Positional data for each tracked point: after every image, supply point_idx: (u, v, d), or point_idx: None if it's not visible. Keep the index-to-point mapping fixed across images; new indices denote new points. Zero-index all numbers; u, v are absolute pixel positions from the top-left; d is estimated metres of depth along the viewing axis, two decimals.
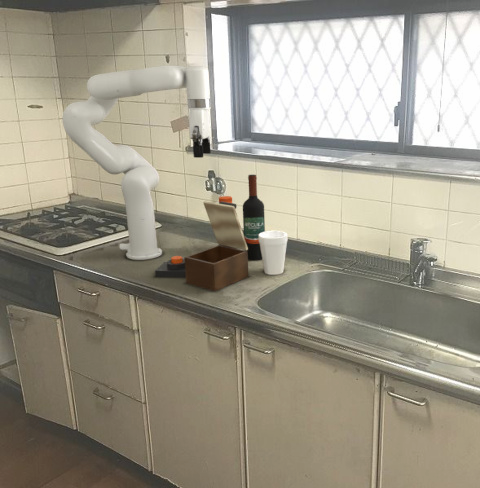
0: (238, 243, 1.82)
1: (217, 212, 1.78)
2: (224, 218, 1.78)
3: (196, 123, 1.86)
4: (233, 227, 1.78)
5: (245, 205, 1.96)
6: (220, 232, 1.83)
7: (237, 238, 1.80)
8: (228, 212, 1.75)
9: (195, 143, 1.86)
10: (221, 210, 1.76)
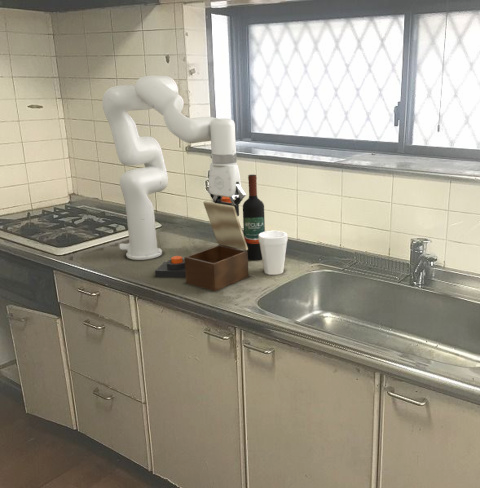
0: (238, 243, 1.82)
1: (217, 212, 1.78)
2: (224, 218, 1.78)
3: (237, 179, 1.74)
4: (233, 227, 1.78)
5: (245, 205, 1.96)
6: (220, 232, 1.83)
7: (237, 238, 1.80)
8: (228, 212, 1.75)
9: (238, 202, 1.76)
10: (221, 210, 1.76)
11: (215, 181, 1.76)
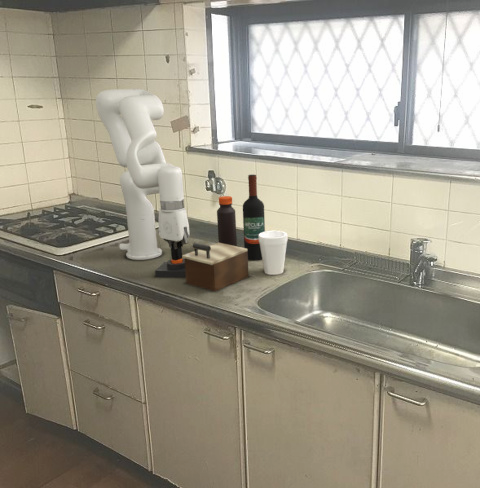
0: None
1: None
2: None
3: (184, 224, 1.80)
4: None
5: (245, 205, 1.96)
6: None
7: None
8: None
9: (180, 246, 1.84)
10: None
11: (164, 226, 1.82)
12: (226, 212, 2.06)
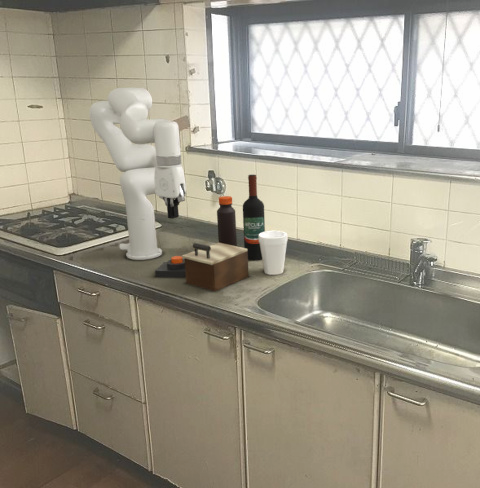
0: None
1: None
2: None
3: (181, 181, 1.76)
4: None
5: (245, 205, 1.96)
6: None
7: None
8: None
9: (176, 203, 1.80)
10: None
11: (160, 183, 1.78)
12: (226, 212, 2.06)
